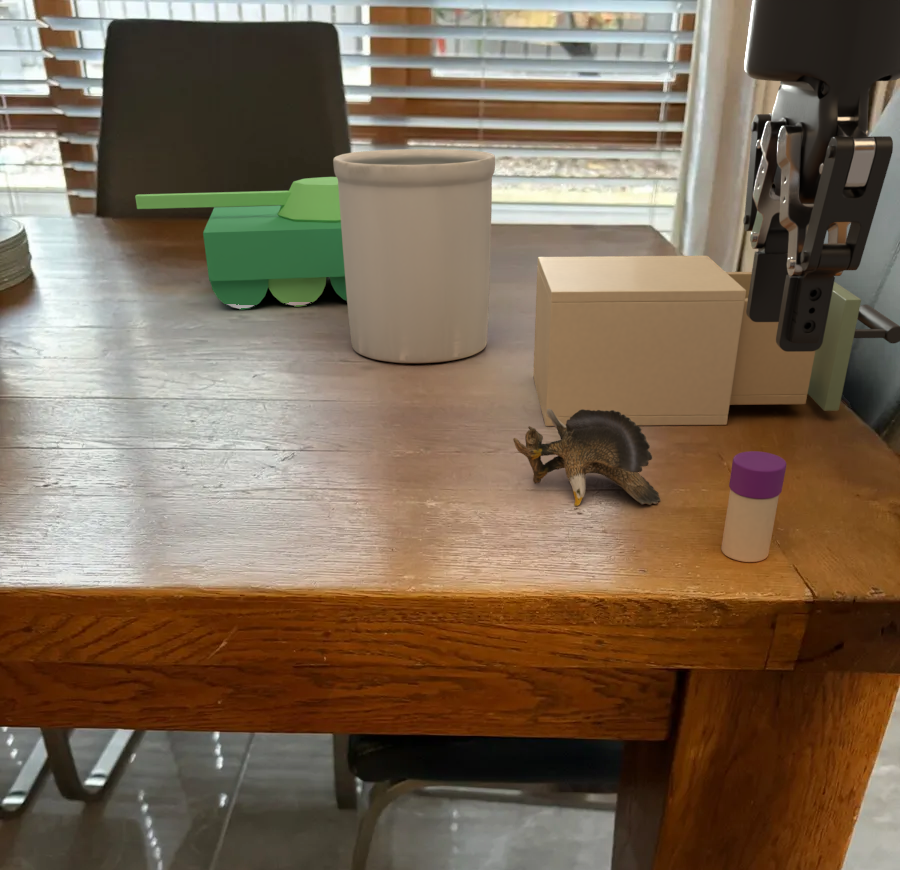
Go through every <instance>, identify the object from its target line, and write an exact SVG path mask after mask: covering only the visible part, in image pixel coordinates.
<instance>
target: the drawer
mask: <svg viewBox="0 0 900 870" xmlns="http://www.w3.org/2000/svg"><path fill="white" fill-rule="evenodd" d="M725 272H726V273H727V274H728V275H729V276H730V277H732V278H733V279H734V280H735V281H736V282H737V283H738V284H739V285H740V286H742V287H743V288H744V289H745V290H746V295H745V300H744V309H743V316H742V323H741V329H740V336H739V343H738V350H737V357H736V364H735V371H734V378H733V385H732V391H731V398H730V405H729V406H745V405H746V406H747V405H749V406H753V405H754V406H755V405H756V406H759V405H762V406H763V405H764V406H765V405H767V406H768V405H769V406H770V405H806V404H807V399H808V398H807V397H808V396H809V397H810V398H811V399H812V400H813V401H814V402H815V403H816V404H817V406H819V407H820V408H821V409H822V410H823V411H824V412H825V411H826V412H827V411H832V412H833V411H839V410H840V406H841V401H842V396H843V392H844V386H845V382H846V377H847V372H848V367H849V362H850V358H851V354H852V348H853V342H854V339H884V340H885V341H887V342H888V343H889V344H897V343H900V325H899V324H898V323H896V322H895V321H894V320H892V319H890V318H888V317H887V316H886V315H884V314H882V313H881V312H880V311H879V310H877V309H875V308H874V307H873V306H870V305H869V304H866V303H864V304H862V299H861V298H860V297H858V296H856V295H855V294H854V293H852V292H851V291H849V290H847V289H846V288H844V287H843V286H842V285H840V284H839V283H837V282H835V281H834V285H833V290H832V296H831V301H830V306H829V312H828V317H827V322H826V327H825V333H824V338H823V343H822V345H821V347H820V348H819V349H817V350H815V351H804V352H786V351H784V350H782V349H781V348H780V347H779V346H778V345H777V343H776V335H777V329H778V323H779V322H754V321H752V320H751V319H750V318H749V317H748V316H747V314H746V309H747V302H748V295H749V288H750V281H751V275H752V271H725ZM861 304H862V305H861ZM858 322H860V323H861V324H863V325H864V326H866V327H867V328H856V327H857V323H858Z"/></svg>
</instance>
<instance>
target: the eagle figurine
mask: <svg viewBox="0 0 900 870" xmlns="http://www.w3.org/2000/svg"><path fill="white" fill-rule="evenodd" d="M547 415H548V416H549V418H550V419H551V420H552V423H553V425H554V426H553V427H554V428H555V429H556V430H557V433H558V436H559V438H560V439H559V440H554V441H550V442H549V443H547V442H546V443H543V440H544V436H543V435H542V433H540V432H539V431H538V430H537V429H536V428H535V427H532V426H530V425H528V427H527V429H528V430H527V431H526V433H525V436H524V438H525V439H524V440H525V444H523V443H522V442H521V441H520V440H519V439H518V438H516V437H514V438H513V439H512V440H513V443H514V446H515V449H516V450H517V451H518V452H519V453H520V454H522V455H523V456H525V457H526V458H527V460H528V462H529V465H530V467H531V469H532V473H533V476H532V482H533V484H537V483H541V481H542V479H544V477H546V476H547V475H548V473H552V472H553V471H555V470H557V471H558V470H561V469H564V472H565V475H566V478H567V479H568V481H569V483H570V486H571V488H572V493H573V497H574V504H573V506H574V507H578V506H580V505H581V502H582V500H583V498H584V497H585V495H586V490H587V489H586V487H587V486H586V475H588V474H598V475H601V476H604V478H607V479H608V480H610V481H611V482H613V483H614V484H616V485H617V486H619V487H620V488H622V489H623V490H624V491H625V492H626V493H627V494H628V495H629V496H630V497H631V498H632V499H634V501H636V502H637V503H639V504H640V505H645V504H646V505H647V506H651V505H652V504H655V505H657V504H659V502H661V500H662V499H661V497H659V496H660V493H659V492H658V491H657V490H655V488H654V487H653V486H652V485H651V484H650V482H649V481H648V480H646V478H645V477H644V476H642V475H641V474H640V473H641V472H643V467H644V468H645V467H649V462H650V461H652V460H653V455H652V453H651V452H650V451H649V449H650V448H651V444H650V443H649V442H648V441H647V436H646V435H645V434H644V433H643V432H642V429H643V428H641V427H640V426H639V425H636V424H635V422H633V421H631V419H630V418H629V417H626V416H625V415H624V414H623V415H621V413H620V412H616V411H614V410H611V411H601V410H597V411H595V410H593V411H591V410H584V409H582V410H579V411H578V412H577V413H575V414H574V415H573V416H572V417H570V419H569V420H567V422H566V426H565V425H564V424H562V423H561V422H560V421H559V420H558V419H557V417H556V415H555V414H554V412H553V411H552V410H551V409H547ZM553 455H554V457H553V458H552V459H550V460H548V461H547V462H545V463H544V462H543V461H542V457H544V456H545V457H546V456H547V457H548V456H553Z"/></svg>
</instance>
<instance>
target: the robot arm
mask: <svg viewBox="0 0 900 870" xmlns="http://www.w3.org/2000/svg"><path fill="white" fill-rule="evenodd" d="M749 16H750V17H749V24H748V25H749V26H748V31H747V32H748V33H747V40H746V48H745V57H744V63H743V67H744V72H745V73H746V75H747V76H748V77H749V78H750V79H753V80H757V81H758V80H759V81H768V82H769V81H770V82H780V86H779V87H778V91H777V95H776V98H775V102H774V104H773V108H772V113H767V114H766V113H756V114H755V115H754V117H753V118H752V122H751V124H750V132H751V133H750V144H749V147H750V148H749V157H748V168H747V183H746V193H745V205H744V206H745V207H744V215H743V220H742V221H743V227H744V231H745V232H751V233H750V235H749V241H750V246H751V249H752V250H757V251H754V253H753V254H754V255H753V262H752V268H751V272H752V275H751V281H750V288H749V295H748V302H747V309H746V314H747V316H748V317H749V318H750V319H751V320H752V321H754V322H779V323H778V329H777V335H776V343H777V345H778V346H779V347H780V348H781V349H782V350H784V351H786V352H804V351H815V350H817V349H819V348H820V347H821V345H822V343H823V338H824V333H825V327H826V322H827V317H828V312H829V306H830V301H831V296H832V290H833V285H834V282H835V279H836V277H840V276H842V274H843V273H844V271H857V270H858V269H859V267H860V265H861V261H862V259H863V255H864V253H865V252H864V250H865V248H866V244H867V241H868V239H869V234H870V231H871V227H872V224H873V221H874V217H875V215H876V210H877V207H878V203H879V200H880V196H881V193H882V190H883V187H884V183H885V180H886V176H887V173H888V169H889V166H890V163H891V160H892V159H891V158H892V156H893V153H894V152H893V150H894V141H893V138H892V136H889V135H888V136H887V135H886V136H884V135H883V136H882V135H881V136H879V135H878V136H869V128H868V125H869V123H868V122H869V100H870V95H869V92H870V90H871V86H872V85H873V84H874V83H875V82H891V81H896V80H900V0H752V1H751V10H750V15H749ZM773 185H774V187H772V186H773ZM827 232H828V233H827ZM826 236H827V243H825V240H826Z"/></svg>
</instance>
